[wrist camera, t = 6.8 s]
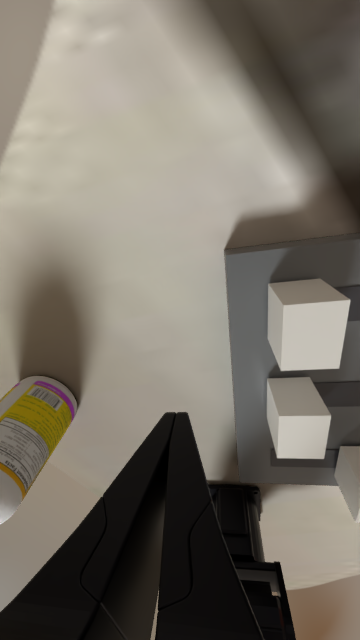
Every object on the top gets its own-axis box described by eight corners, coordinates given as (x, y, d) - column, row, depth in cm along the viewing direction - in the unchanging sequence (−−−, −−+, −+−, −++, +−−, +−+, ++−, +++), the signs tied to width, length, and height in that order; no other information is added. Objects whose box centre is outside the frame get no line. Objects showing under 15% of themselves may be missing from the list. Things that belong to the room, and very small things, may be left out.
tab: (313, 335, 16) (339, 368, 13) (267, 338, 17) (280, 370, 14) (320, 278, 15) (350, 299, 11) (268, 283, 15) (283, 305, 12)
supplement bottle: (33, 420, 27) (-97, 578, 16) (9, 373, 24) (-170, 523, 13) (88, 420, 26) (-9, 590, 15) (69, 372, 23) (-69, 534, 12)
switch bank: (381, 466, 24) (395, 489, 22) (237, 463, 26) (239, 483, 24) (461, 220, 14) (500, 222, 12) (224, 249, 17) (225, 255, 15)
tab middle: (305, 416, 19) (324, 459, 16) (266, 416, 20) (277, 458, 17) (309, 377, 18) (331, 415, 14) (267, 378, 18) (278, 416, 15)
